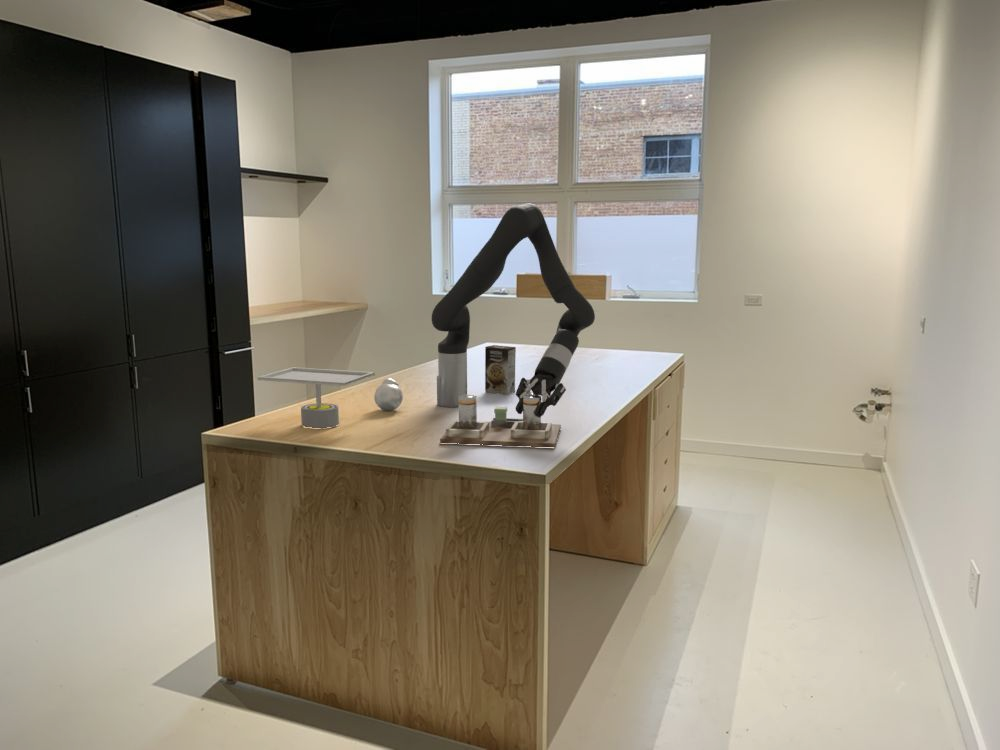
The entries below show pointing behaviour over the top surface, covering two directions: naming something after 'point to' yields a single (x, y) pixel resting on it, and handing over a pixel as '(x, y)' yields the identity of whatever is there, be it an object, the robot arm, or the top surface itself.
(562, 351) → the robot arm
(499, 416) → the green notched block
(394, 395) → the grey rounded lump
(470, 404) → the seated billet
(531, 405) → the cylinder
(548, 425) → the pallet
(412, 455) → the top surface
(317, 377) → the solar panel model
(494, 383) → the coffee box
